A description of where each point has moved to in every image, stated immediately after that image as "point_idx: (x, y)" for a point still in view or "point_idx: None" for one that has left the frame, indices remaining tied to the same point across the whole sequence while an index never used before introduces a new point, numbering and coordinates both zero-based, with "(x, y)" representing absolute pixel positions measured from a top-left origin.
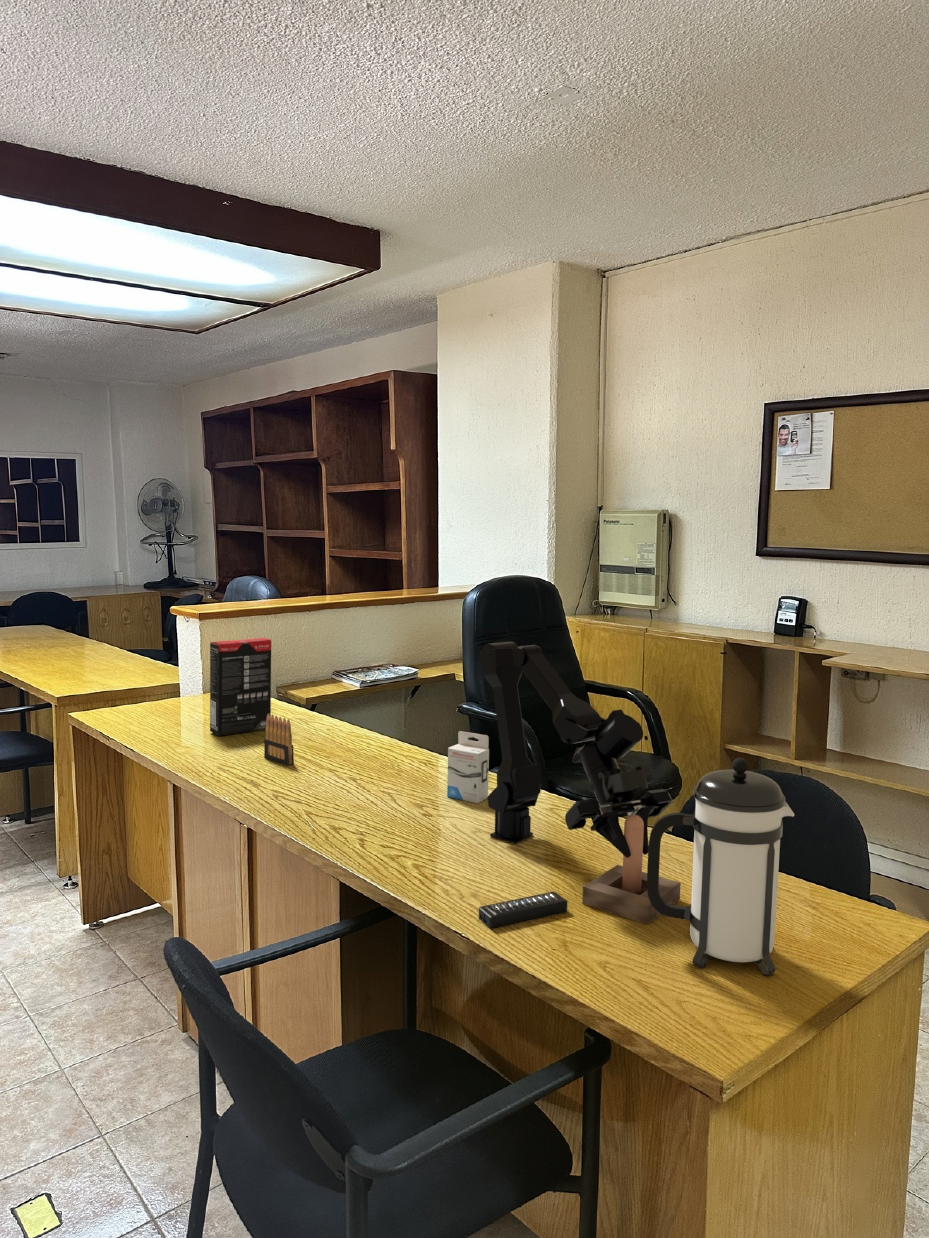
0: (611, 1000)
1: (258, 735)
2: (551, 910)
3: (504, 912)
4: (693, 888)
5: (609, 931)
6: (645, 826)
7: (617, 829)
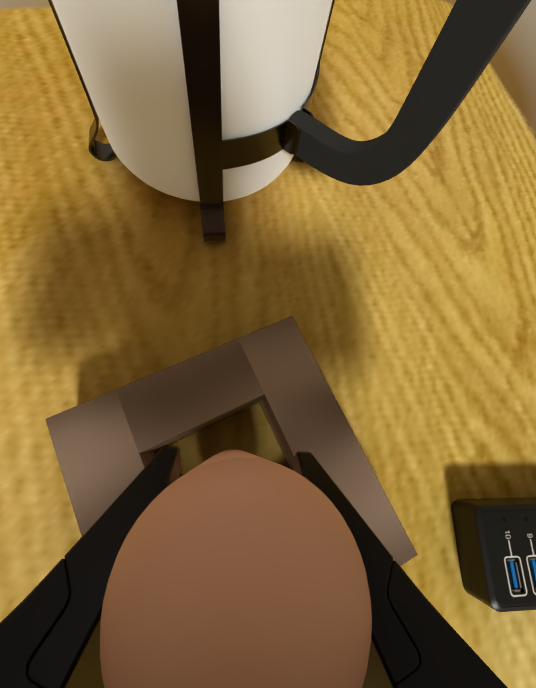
0: (508, 154)
1: None
2: (519, 500)
3: None
4: (327, 1)
5: (395, 348)
6: (39, 613)
7: (417, 628)
